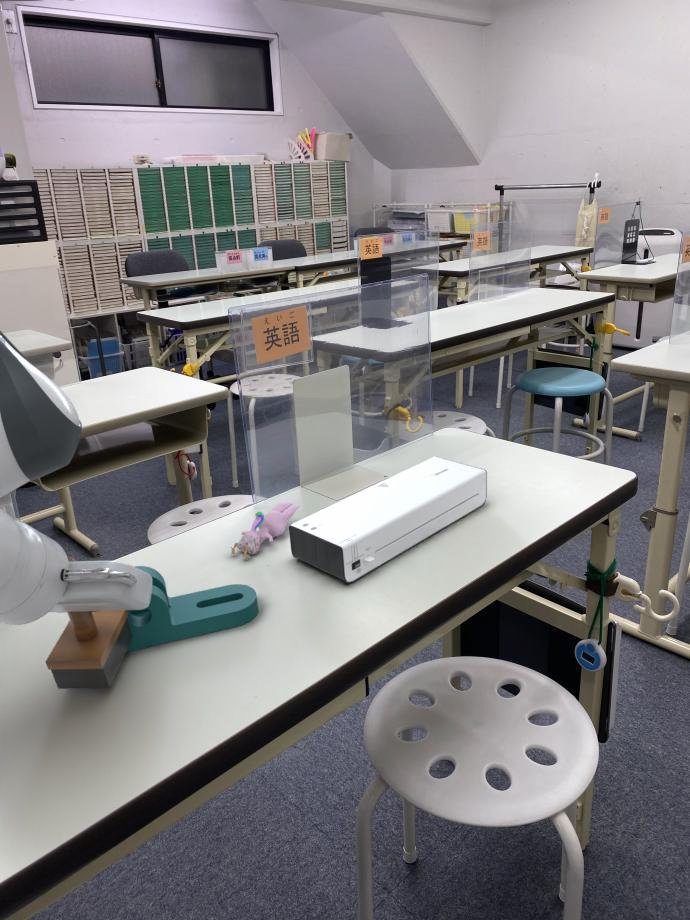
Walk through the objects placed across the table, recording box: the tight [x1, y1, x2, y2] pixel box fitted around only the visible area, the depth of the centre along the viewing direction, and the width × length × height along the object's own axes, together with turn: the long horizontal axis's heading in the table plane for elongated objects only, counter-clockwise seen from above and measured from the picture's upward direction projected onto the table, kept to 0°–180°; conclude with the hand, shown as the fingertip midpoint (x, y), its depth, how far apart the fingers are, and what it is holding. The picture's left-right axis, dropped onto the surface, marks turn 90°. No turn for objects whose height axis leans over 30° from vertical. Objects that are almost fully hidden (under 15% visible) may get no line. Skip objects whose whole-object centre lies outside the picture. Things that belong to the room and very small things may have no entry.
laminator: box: [288, 455, 488, 584], centre depth 108 cm, size 34×12×6 cm, turn 135°
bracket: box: [126, 565, 259, 653], centre depth 88 cm, size 18×7×8 cm, turn 107°
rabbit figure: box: [230, 502, 301, 562], centre depth 108 cm, size 6×6×15 cm
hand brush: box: [45, 556, 133, 690], centre depth 76 cm, size 8×6×14 cm
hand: (82, 605), depth 77 cm, fingers closed on hand brush, 2 cm apart
